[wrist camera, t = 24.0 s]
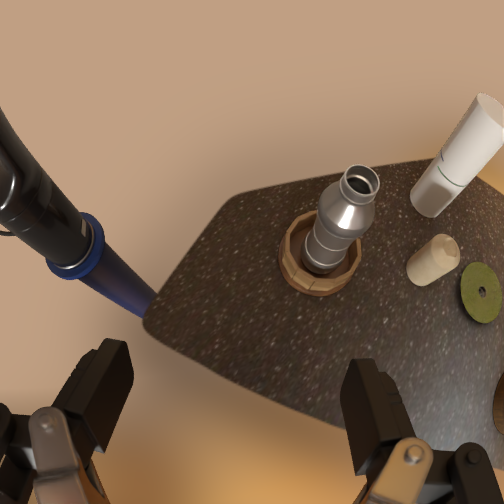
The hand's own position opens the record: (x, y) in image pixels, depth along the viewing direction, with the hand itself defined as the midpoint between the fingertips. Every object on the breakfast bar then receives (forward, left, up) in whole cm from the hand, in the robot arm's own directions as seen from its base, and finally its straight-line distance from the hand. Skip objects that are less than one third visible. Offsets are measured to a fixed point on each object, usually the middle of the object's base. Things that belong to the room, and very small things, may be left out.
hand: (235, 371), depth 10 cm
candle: (+28, +16, -33) cm, 46 cm away
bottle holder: (+10, +17, -32) cm, 38 cm away
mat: (+41, +12, -33) cm, 54 cm away
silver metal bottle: (+10, +17, -32) cm, 37 cm away
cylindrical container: (+32, +30, -33) cm, 55 cm away
